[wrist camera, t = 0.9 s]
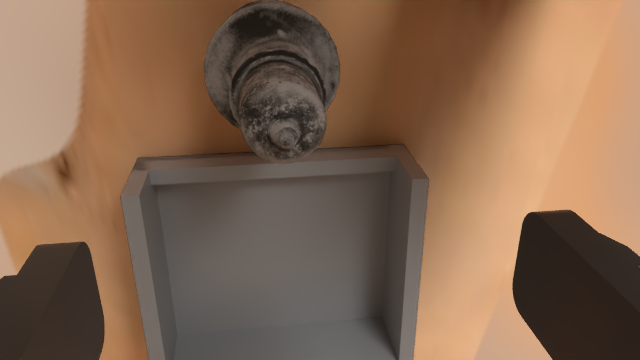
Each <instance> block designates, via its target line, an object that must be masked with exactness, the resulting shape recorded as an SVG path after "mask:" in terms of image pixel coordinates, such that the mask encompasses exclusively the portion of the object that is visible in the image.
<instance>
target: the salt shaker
mask: <svg viewBox="0 0 640 360" xmlns="http://www.w3.org/2000/svg"><path fill="white" fill-rule="evenodd" d="M204 73H205V84H206V87H207V90H208V93H209V95H210V98H211V100H212V102H213V103H214V105H215V106H216V108H217V109H218V111H219V112H220V114H221V115H222V116H223V117H225V118H226V119H227V120H228V121H229V122H230V123H231V124H233V125H234V126H236V127H238V128H240V130H241V133H242V136H243V138H244V140H245V141H246V143H247V144H248V146H249V147H250V148H251V150H253V151H254V152H255V153H256V154H257V155H258V156H259V157H261V158H263V159H265V160H267V161H270V162H274V163H279V164H288V163H294V162H298V161H301V160H303V159H305V158H306V157H308V156H310V155H311V154H312V153H313V152H314V151H315V150H316V149H317V148H318V147H319V145H320V143H321V142H322V140H323V137H324V134H325V130H326V113H325V112H326V111H327V109H328V107H329V106H330V104H331V103H332V101H333V99H334V98H335V94H336V91H337V88H338V85H339V81H340V61H339V57H338V53H337V48H336V46H335V44H334V42H333V40H332V38H331V36H330V34H329V32H328V31H327V30H326V29H325V28H324V26H323V25H322V24H321V23H320V22H319V21H318V20H317V19H316V18H315V17H313V16H312V15H310V14H309V13H307V12H305V11H304V10H302V9H300V8H298V7H294V6H292V5H291V4H288V3H284V2H281V1H277V0H260V1H256V2H252V3H249V4H246V5H244V6H243V7H241V8H239V9H238V10H236V11H235V12H234V13H233V14H232V15H231V16H230V17H228V19H227V20H226V21H225V22H224V23H223V24H222V25H221V26H220V27H219V28H218V29H217V30H216V32H215V34H214V36H213V38H212V40H211V42H210V43H209V45H208V48H207V53H206V58H205V62H204Z"/></svg>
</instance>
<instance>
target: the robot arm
mask: <svg viewBox="0 0 640 360" xmlns="http://www.w3.org/2000/svg"><path fill="white" fill-rule="evenodd" d="M513 297H514V301H515V304H516V307H517V309H518V312H519V313H520V315H521V316H522V318H523V319H524V321H525V322H526V323H527V325H528V326H529V327H530V329H531V330H532V332H533V333H534V334H535V336H536V337H537V339H538V340H539V341H540V342H541V344H542V345H543V347H544V348H545V349H546V351H547V352H548V354H549V355H550V357H551V358H552V359H553V360H640V257H639V256H638V255H637V254H636V253H635V252H633V251H632V250H631V249H630V248H628V247H627V246H625V245H623V244H621V243H619V242H617V241H615V240H613V239H611V238H609V237H607V236H605V235H602V234H601V233H598V232H597V231H596V230H594V229H593V228H592V227H591V226H590V225H589V224H588V223H586V222H585V221H584V220H583V219H582V218H581V217H579V216H578V215H577V214H576V213H575V212H573V211H571V210H558V211H557V210H556V211H542V212H531V213H528V214H527V215H526V217H525V218H524V221H523V224H522V229H521V235H520V241H519V247H518V253H517V259H516V265H515V271H514V277H513ZM103 343H104V315H103V310H102V305H101V300H100V295H99V291H98V286H97V281H96V276H95V271H94V267H93V262H92V257H91V253H90V250H89V247H88V245H87V244H86V243H85V242H72V243H58V244H43V245H38V246H36V247H35V248H34V250H33V251H32V253H31V254H30V256H29V257H28V259H27V260H26V262H25V264H24V265H23V267H22V268H21V270H20V271H19V273H18V274H17V275H13V276H4V277H3V278H1V279H0V360H99V358H100V355H101V352H102V348H103Z"/></svg>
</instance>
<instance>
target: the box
mask: <svg viewBox="0 0 640 360" xmlns="http://www.w3.org/2000/svg"><path fill="white" fill-rule="evenodd" d="M428 184H429V178H428V177H427V175H426V174H425V173H424V171H423V170H422V169H421V167H420V166H419V164H418V163H417V162H416V160H415V159H414V158H413V156H412V155H411V154H410V152H409V151H408V150H407V148H406V147H405V146H404V144H400V145H381V146H361V147H342V148H322V149H316V150H315V151H314V152H313V153H312V154H311V155H310V156H308V157H306V158H305V159H303V160H301V161H298V162H294V163H288V164H279V163H274V162H270V161H267V160H265V159H263V158H261V157H259V156H258V155H257V154H256V153H255V152H244V153H224V154H205V155H185V156H166V157H146V158H138V159H137V161H136V163H135V166H134V168H133V170H132V172H131V174H130V177H129V179H128V181H127V183H126V185H125V188H124V190H123V192H122V194H121V203H122V209H123V214H124V220H125V226H126V231H127V237H128V243H129V249H130V254H131V260H132V266H133V271H134V277H135V283H136V289H137V294H138V300H139V306H140V312H141V317H142V323H143V329H144V334H145V340H146V346H147V352H148V357H149V360H413V357H414V345H415V334H416V322H417V311H418V299H419V288H420V276H421V265H422V253H423V241H424V230H425V218H426V207H427V195H428Z"/></svg>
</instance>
